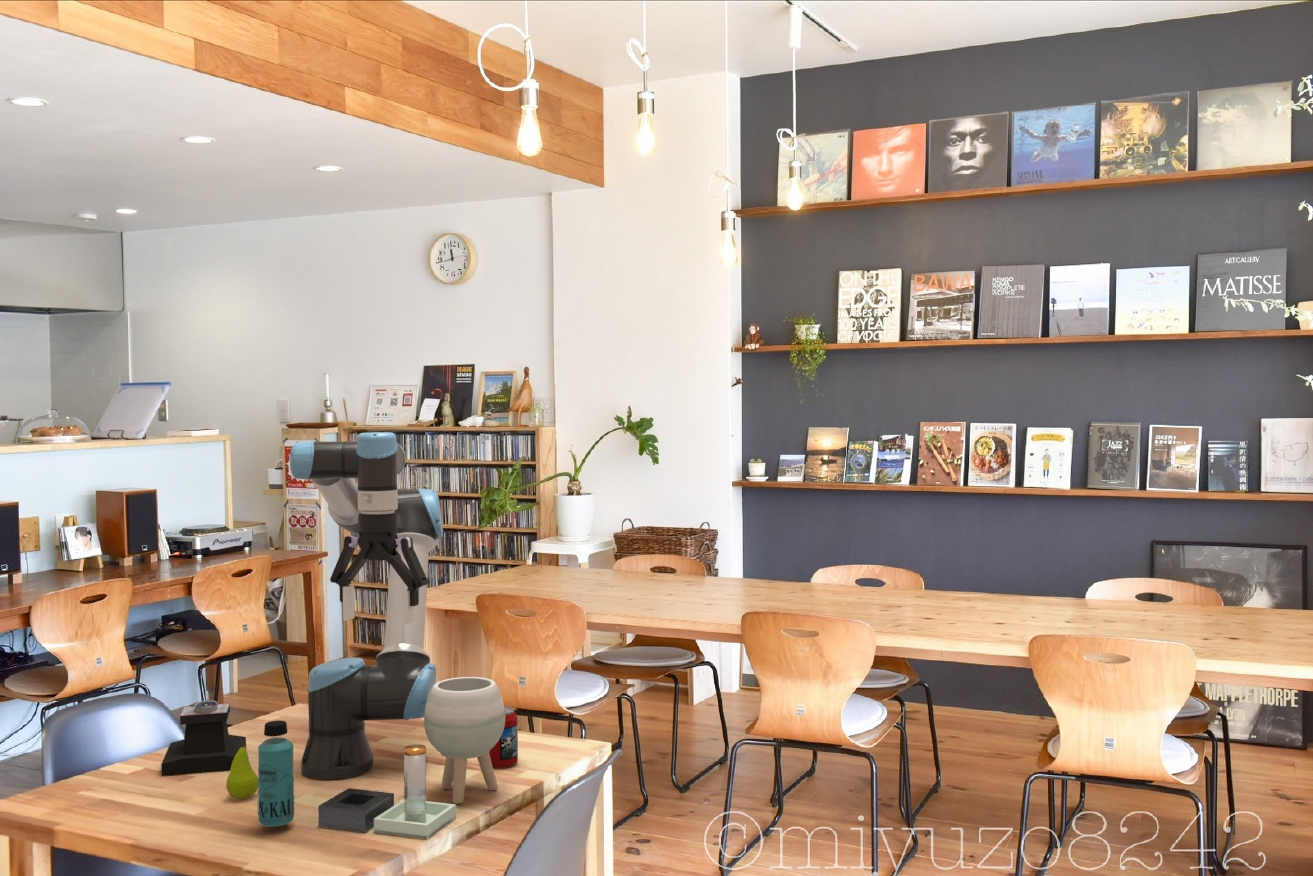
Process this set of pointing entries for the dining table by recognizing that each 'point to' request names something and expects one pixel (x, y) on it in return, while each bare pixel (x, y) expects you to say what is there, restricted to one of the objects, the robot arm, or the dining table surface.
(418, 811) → the pin
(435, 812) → the tray
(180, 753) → the black pedestal stand
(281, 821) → the beverage bottle
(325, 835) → the dining table surface
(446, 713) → the planter
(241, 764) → the fruit
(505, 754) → the beverage can
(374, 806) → the collar
